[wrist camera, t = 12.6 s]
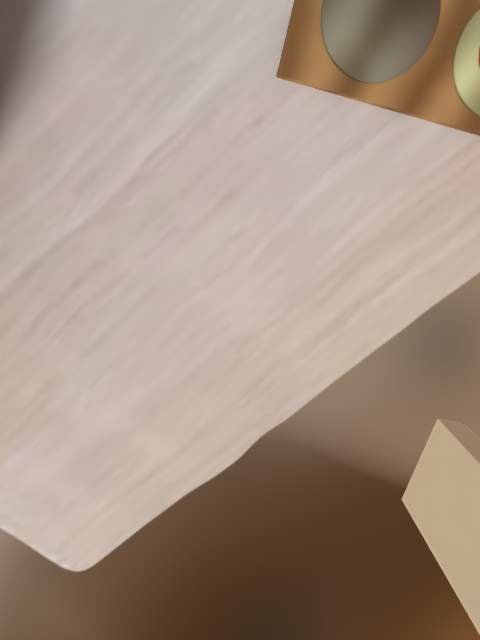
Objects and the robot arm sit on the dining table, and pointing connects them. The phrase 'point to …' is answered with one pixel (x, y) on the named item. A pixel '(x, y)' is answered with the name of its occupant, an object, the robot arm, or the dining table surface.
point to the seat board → (390, 55)
